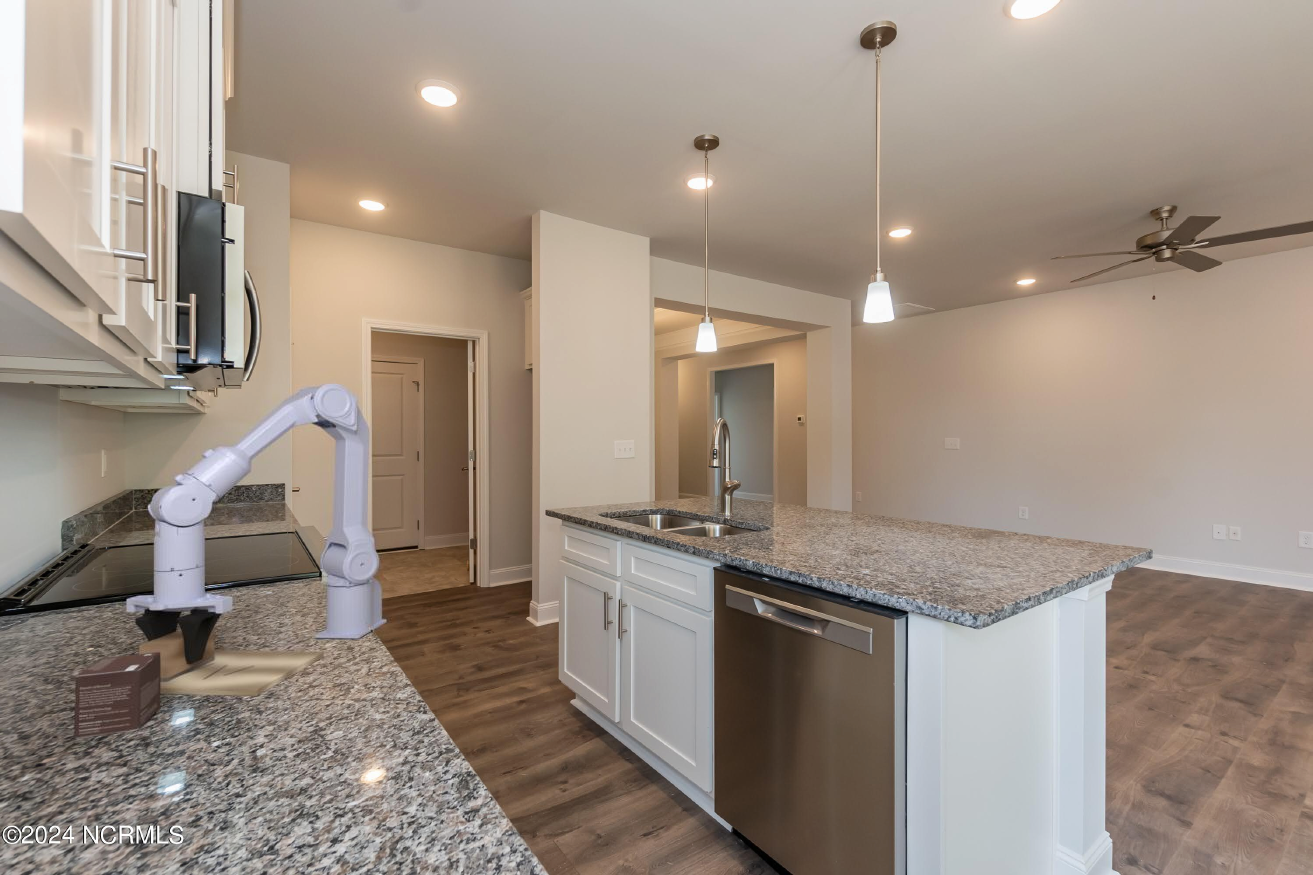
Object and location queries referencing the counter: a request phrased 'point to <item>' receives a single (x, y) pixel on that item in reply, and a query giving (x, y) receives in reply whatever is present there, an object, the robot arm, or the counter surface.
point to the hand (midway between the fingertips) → (179, 661)
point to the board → (240, 673)
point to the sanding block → (176, 654)
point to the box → (117, 694)
